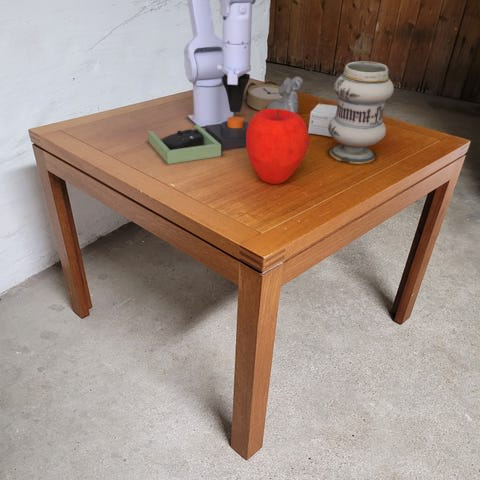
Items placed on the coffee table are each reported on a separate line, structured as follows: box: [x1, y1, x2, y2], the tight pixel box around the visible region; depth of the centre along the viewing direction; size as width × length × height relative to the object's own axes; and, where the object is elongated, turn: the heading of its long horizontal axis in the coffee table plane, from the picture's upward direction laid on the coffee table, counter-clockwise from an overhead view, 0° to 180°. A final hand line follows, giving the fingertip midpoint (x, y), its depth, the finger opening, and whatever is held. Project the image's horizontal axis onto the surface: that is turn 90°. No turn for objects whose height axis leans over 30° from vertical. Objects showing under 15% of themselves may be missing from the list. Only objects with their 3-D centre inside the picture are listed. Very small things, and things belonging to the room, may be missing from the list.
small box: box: [307, 103, 337, 138], centre depth 121 cm, size 8×8×5 cm
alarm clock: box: [243, 80, 283, 111], centre depth 138 cm, size 11×5×15 cm
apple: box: [245, 109, 310, 185], centre depth 96 cm, size 12×12×13 cm
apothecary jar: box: [328, 60, 395, 165], centre depth 106 cm, size 12×12×18 cm
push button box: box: [204, 121, 249, 151], centre depth 115 cm, size 10×9×4 cm
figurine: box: [267, 76, 304, 116], centre depth 123 cm, size 8×10×11 cm
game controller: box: [160, 129, 204, 150], centre depth 112 cm, size 10×5×6 cm
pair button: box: [227, 115, 245, 128], centre depth 113 cm, size 4×4×2 cm
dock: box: [147, 124, 222, 165], centre depth 111 cm, size 12×14×2 cm
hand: (235, 111), depth 111 cm, fingers closed
